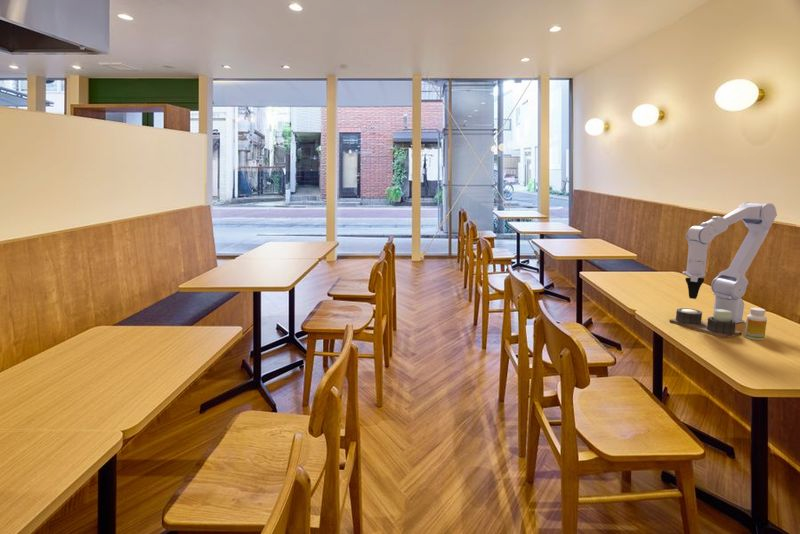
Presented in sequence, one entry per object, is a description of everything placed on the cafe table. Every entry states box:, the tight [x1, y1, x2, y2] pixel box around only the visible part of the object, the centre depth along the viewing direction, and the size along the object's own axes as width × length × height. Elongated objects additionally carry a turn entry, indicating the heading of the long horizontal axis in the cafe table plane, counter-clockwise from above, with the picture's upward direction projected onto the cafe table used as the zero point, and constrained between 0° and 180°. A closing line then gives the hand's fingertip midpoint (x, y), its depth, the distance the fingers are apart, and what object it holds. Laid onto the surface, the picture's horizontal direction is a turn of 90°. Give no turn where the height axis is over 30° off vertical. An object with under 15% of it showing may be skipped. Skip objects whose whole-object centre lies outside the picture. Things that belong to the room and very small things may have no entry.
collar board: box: [669, 307, 742, 339], centre depth 177 cm, size 9×20×4 cm, turn 23°
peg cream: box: [681, 308, 697, 313], centre depth 182 cm, size 5×5×4 cm
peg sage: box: [712, 309, 732, 322], centre depth 171 cm, size 5×5×4 cm
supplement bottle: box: [744, 307, 768, 341], centre depth 165 cm, size 5×5×10 cm
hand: (692, 298), depth 180 cm, fingers closed
